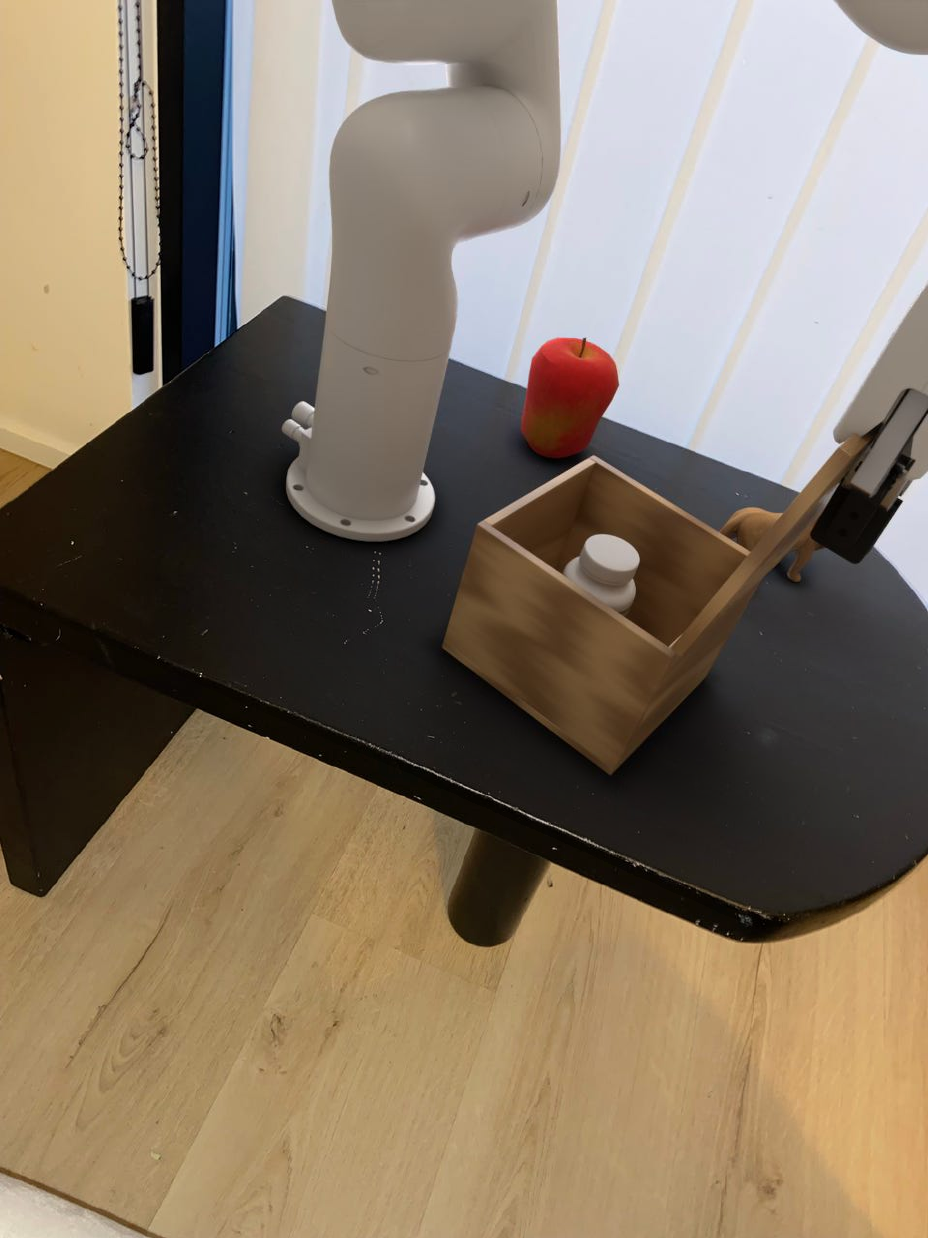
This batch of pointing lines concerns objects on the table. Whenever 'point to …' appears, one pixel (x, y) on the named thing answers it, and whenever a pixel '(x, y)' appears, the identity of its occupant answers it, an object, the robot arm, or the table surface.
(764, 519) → the lion figurine
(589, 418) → the apple
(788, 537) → the cover
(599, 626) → the case box
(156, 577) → the table surface
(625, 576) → the pill bottle
